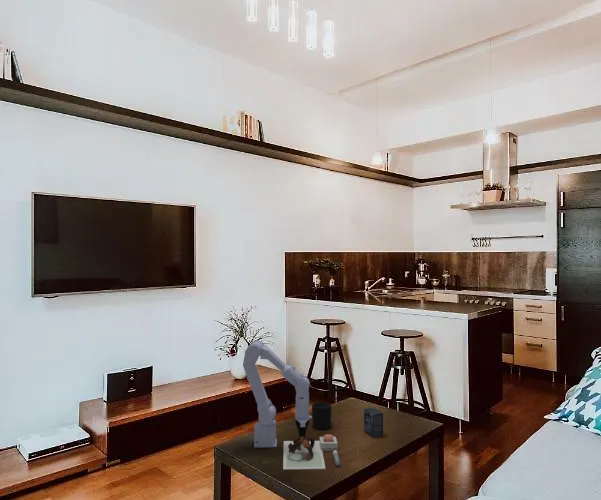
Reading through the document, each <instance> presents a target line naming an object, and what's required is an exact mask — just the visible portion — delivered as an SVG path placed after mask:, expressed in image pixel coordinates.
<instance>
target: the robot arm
mask: <svg viewBox="0 0 601 500" xmlns="http://www.w3.org/2000/svg"><path fill="white" fill-rule="evenodd" d="M258 359H259V360H267V361H269V362H270V363H271V364H272V365H274V366H275V367H276V368H277V369H279V371H281V376H282V377H284V378H285V380H286V381H288V383H289V384H291V385H292V386H294V389H295V393H296V394H295V417H294V418H295V425H296V428H297V430H298V435H299V437H303V438H304V439H306V435H307V434H306V433H307V429H308V427H309V425H310V421H309V420H311V419H312V415H310V392H309V390H310V389H309V388H310V385H311V384H310V379H309V378H308V377H307V376H305V375H304V374H303V373H301V372H299V371H298V370H297V369H296V366H295V365H293V366H292V365H291V364H286V363H285V362H284V361H283V360H282V359H281V358H280V357H279V356H278V355H277V354H276V353H275V352H274V351H273V350H272V349H271V348H270V347H269V346H268V345H266V344H264V342H263V341H261V340H257V339H256V340H254V341H253V342H252V343H251V344H249V345H248V346H247V348H246V350H244V357H243V362H242V367H243V369H244V373H245V375H246V377H247V378H246V379H247V381H248V383H249V386H250V389H251V391H252V394H253V396H254V399H255V402H256V405H257V412H258V421H259V422H255V423H254V428H253V429H254V431H253V448H277V444H278V439H277V420H276V419H275V416H276V415H277V408H276V407H275V405H273V403H272V401H271V399H269V398H268V395H267V392H266V389H265V386H264V384H263V382H262V379H261V376H260V373H259V371H258V368H257V366H256V363H257V362H258ZM299 437H298V438H299Z"/></svg>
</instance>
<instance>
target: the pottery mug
mask: <svg viewBox="0 0 601 500" xmlns="http://www.w3.org/2000/svg"><path fill="white" fill-rule="evenodd" d="M292 441H293V443H294V444H293V445H292V443H290V444H289V445H288V448H289V453H291V452H292V453H293V454H294V452H295V451H296V450H301V444H302V445H303V446H304V447H305V448H307V450H308V451H309V453H308V454H307V455H306V457H307V460H308V461H309V460H310V459H311V458H312V457H313V456H314V455H313V451H312V448H313V447H314V444H315V441H316V440H315V439H314V438H313V437H312V436H310V437H307V438H305V439H304V438H303V437H298V438H296V439H294V440H292ZM310 441H311V444H310V443H309V442H310Z"/></svg>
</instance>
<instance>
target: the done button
mask: <svg viewBox="0 0 601 500" xmlns="http://www.w3.org/2000/svg"><path fill="white" fill-rule="evenodd" d="M323 437H324V442H333V437H334V435H332V434H331V433H329V434H326V433H325V434H324V435H323Z"/></svg>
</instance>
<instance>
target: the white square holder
mask: <svg viewBox="0 0 601 500" xmlns="http://www.w3.org/2000/svg"><path fill="white" fill-rule="evenodd" d="M319 441H320V447H321V450H322V452H323V451H326V452H329V451H330V452H331V451H332V452H333V451H334V450H336V451H338V441H337V437H336V436H333V442H324V436H319Z"/></svg>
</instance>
